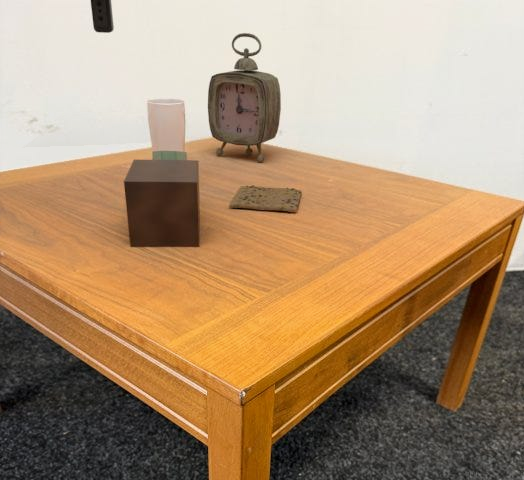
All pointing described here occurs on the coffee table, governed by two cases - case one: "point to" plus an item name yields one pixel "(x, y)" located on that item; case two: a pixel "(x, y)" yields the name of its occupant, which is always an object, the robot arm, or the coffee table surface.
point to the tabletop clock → (244, 104)
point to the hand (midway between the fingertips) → (104, 32)
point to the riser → (163, 202)
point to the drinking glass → (166, 124)
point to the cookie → (267, 198)
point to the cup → (169, 155)
